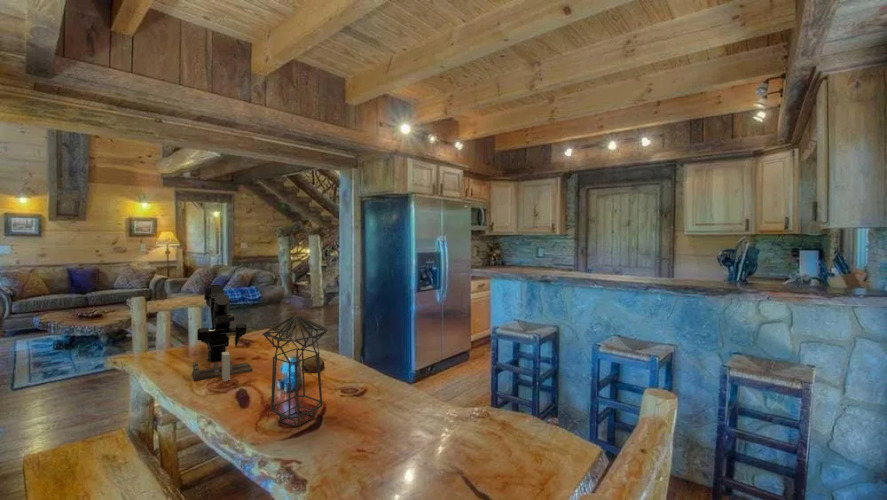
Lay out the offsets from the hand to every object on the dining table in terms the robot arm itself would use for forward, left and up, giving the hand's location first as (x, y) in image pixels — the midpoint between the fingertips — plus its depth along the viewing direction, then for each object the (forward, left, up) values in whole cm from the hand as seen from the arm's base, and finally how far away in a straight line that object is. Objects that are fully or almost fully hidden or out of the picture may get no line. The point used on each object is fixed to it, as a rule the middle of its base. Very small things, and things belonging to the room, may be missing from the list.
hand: (224, 348), depth 167 cm
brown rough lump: (-28, +23, -12) cm, 39 cm away
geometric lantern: (+6, +61, -12) cm, 62 cm away
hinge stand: (-2, -5, -12) cm, 13 cm away
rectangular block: (+2, +5, -12) cm, 13 cm away
